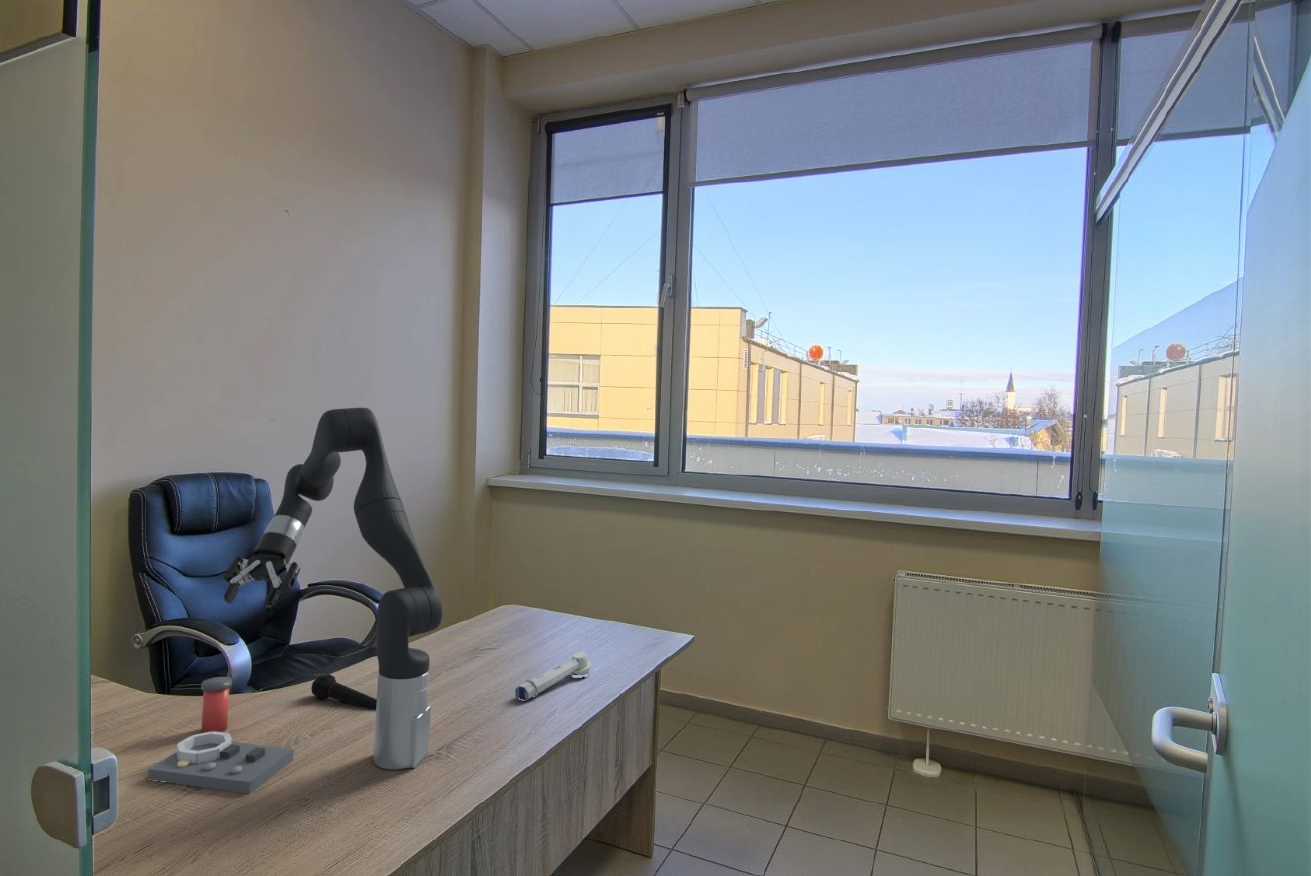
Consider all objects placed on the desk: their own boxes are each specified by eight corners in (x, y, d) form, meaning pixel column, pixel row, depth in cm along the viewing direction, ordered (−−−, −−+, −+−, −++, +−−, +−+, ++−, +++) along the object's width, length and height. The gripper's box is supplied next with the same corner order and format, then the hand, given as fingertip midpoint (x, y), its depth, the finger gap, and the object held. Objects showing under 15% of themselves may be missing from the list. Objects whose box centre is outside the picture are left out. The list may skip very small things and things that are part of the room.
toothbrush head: (512, 683, 165) (579, 644, 185) (513, 709, 166) (580, 667, 186) (528, 689, 162) (595, 649, 182) (529, 715, 163) (595, 672, 183)
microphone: (391, 721, 156) (317, 695, 160) (400, 695, 157) (326, 670, 162) (377, 723, 150) (302, 697, 155) (387, 696, 152) (311, 671, 157)
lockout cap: (235, 726, 142) (237, 678, 141) (216, 737, 136) (219, 688, 136) (211, 723, 142) (214, 675, 142) (192, 734, 137) (195, 685, 137)
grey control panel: (292, 759, 130) (294, 739, 130) (249, 793, 118) (250, 771, 118) (199, 748, 132) (200, 728, 132) (147, 780, 120) (148, 759, 120)
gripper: (243, 527, 155) (206, 592, 144) (306, 534, 155) (274, 599, 144) (255, 545, 161) (221, 608, 150) (316, 551, 161) (286, 615, 150)
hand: (247, 604), depth 147 cm, fingers open, 8 cm apart
